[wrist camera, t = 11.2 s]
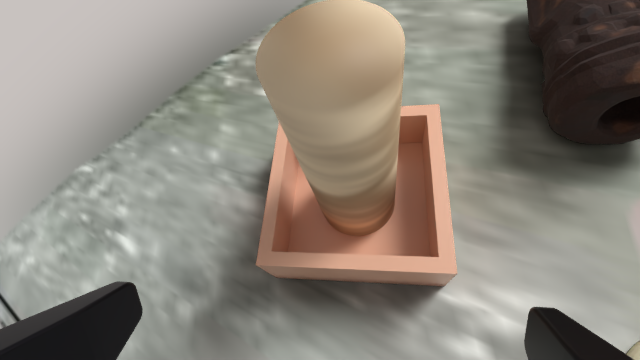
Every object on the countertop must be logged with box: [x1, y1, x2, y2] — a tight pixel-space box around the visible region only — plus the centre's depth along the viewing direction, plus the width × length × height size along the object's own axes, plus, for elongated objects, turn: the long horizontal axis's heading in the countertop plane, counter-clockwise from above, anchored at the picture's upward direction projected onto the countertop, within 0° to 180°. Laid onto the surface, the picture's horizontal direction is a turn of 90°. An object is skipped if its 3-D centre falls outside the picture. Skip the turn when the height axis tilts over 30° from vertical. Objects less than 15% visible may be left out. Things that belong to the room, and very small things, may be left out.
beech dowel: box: [256, 0, 405, 236], centre depth 16 cm, size 5×5×13 cm
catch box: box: [256, 104, 457, 286], centre depth 21 cm, size 11×11×4 cm
